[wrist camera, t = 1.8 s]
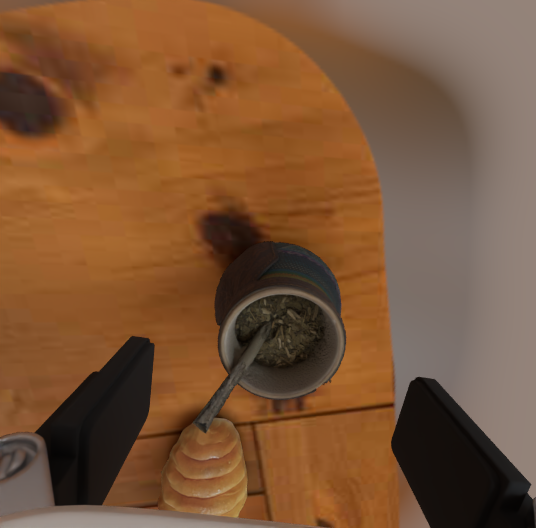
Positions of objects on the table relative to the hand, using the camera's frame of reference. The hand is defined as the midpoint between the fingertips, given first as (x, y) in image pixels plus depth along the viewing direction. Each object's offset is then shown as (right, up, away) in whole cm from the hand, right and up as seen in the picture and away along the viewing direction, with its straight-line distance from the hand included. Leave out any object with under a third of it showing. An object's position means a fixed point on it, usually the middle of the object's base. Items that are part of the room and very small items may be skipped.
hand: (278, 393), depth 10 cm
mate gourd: (0, +3, +10) cm, 10 cm away
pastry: (-5, -12, +14) cm, 19 cm away
